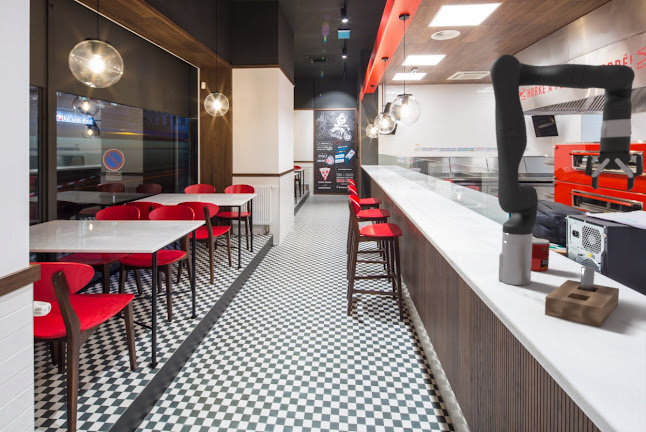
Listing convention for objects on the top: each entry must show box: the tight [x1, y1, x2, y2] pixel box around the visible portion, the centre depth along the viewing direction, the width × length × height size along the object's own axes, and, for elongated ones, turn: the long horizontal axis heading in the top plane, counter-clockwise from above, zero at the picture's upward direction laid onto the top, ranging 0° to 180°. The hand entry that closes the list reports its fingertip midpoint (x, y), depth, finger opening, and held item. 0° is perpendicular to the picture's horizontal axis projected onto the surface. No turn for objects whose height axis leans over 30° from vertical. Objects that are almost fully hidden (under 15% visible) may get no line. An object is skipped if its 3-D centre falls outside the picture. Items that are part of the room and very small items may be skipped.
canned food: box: [531, 237, 551, 273], centre depth 157 cm, size 8×8×11 cm
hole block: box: [544, 279, 620, 328], centre depth 117 cm, size 13×20×5 cm, turn 135°
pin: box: [579, 266, 596, 292], centre depth 120 cm, size 3×3×10 cm
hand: (612, 189), depth 128 cm, fingers open, 8 cm apart
